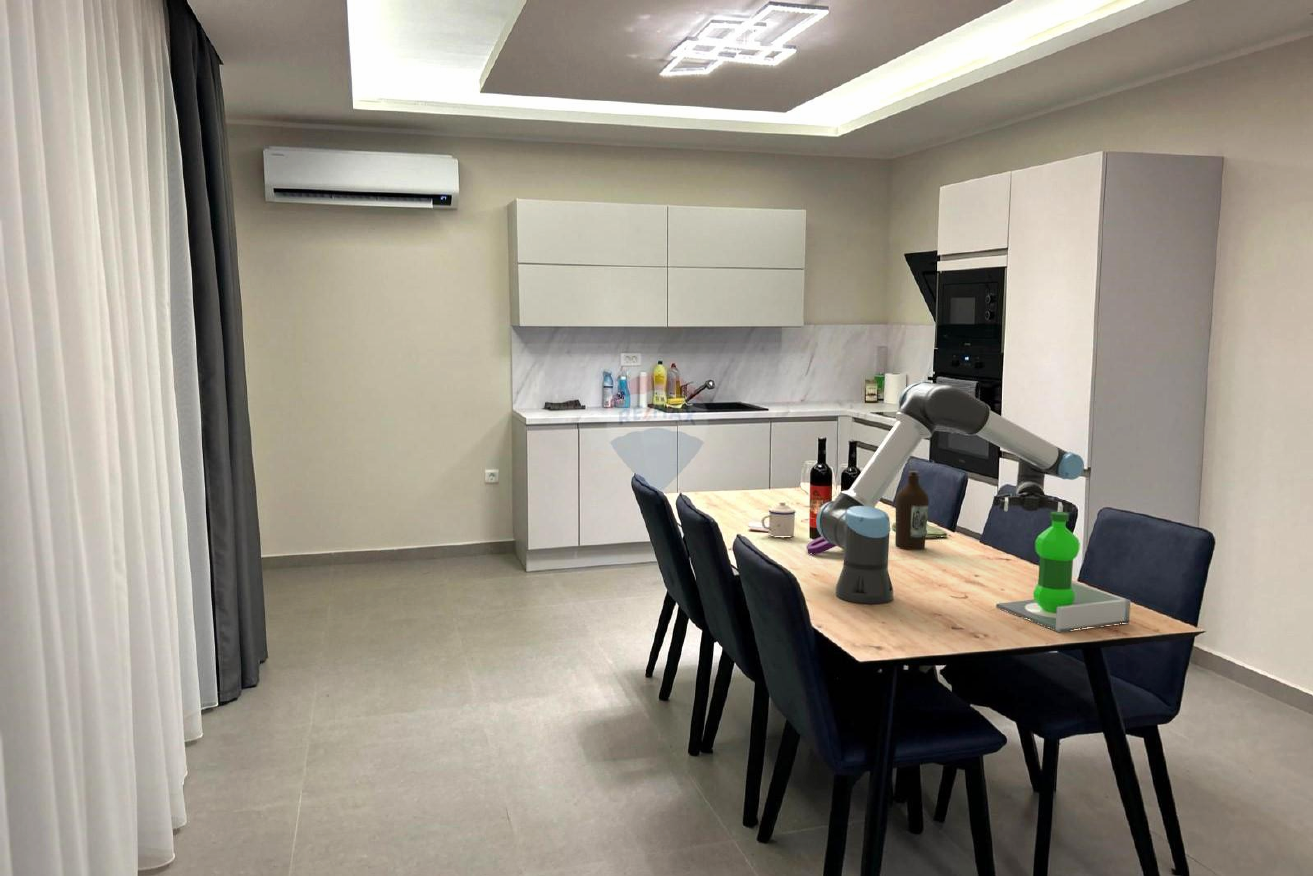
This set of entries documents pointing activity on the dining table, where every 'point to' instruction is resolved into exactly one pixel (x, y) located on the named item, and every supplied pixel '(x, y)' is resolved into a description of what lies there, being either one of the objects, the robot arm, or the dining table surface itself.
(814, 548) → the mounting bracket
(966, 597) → the dining table surface
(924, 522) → the olive oil
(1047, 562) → the plastic bottle
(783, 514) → the teacup with lid
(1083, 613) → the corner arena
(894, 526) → the washcloth
